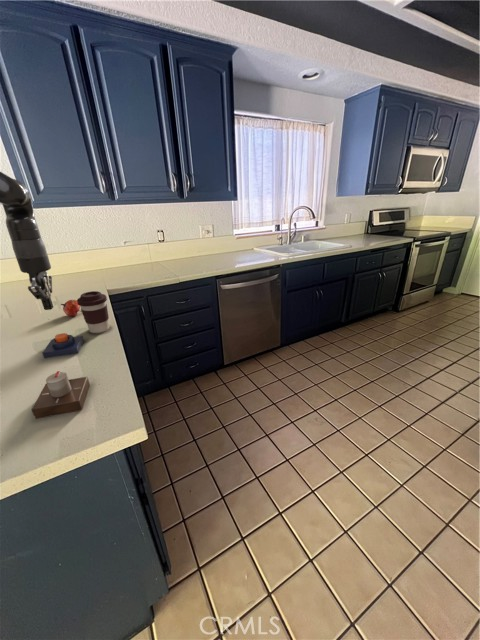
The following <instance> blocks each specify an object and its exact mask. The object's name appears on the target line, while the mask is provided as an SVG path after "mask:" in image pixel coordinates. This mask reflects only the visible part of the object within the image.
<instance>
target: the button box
mask: <svg viewBox="0 0 480 640" xmlns="http://www.w3.org/2000/svg"><path fill="white" fill-rule="evenodd" d="M67 336H68V340H66V341H63V342H56V340H55V337H54V338H52V339H50V341H49V343H48V344H47V345H46V347H45V348H44V350H43V351H42V356H43V358H44V359H49V358H56V357H63V356H69V355H71V356H72V355H76V354H79V353H80V350H81V348H82V346H83V344H84V342H85V339H84V336H83V335H78V336H73V334H67Z"/></svg>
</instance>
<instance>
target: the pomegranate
mask: <svg viewBox="0 0 480 640" xmlns="http://www.w3.org/2000/svg"><path fill="white" fill-rule="evenodd" d="M60 306H62V310H63V313H64V314H65V315H66V316H69V317H73V318H74V317H76V316H77V315H78V313H79V312H80V313H82V311H81V306H80V305H78V303H77V299H69V300H68V299H67V301H66V302H64V303H60Z"/></svg>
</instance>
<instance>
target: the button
mask: <svg viewBox="0 0 480 640" xmlns="http://www.w3.org/2000/svg"><path fill="white" fill-rule="evenodd" d="M67 335H68V333H66V332H64V333H58V334H56V335H55V336H54V338H55V340H56V342H63V341H66V340H68V336H67Z"/></svg>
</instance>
